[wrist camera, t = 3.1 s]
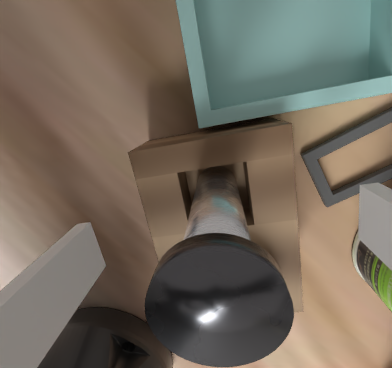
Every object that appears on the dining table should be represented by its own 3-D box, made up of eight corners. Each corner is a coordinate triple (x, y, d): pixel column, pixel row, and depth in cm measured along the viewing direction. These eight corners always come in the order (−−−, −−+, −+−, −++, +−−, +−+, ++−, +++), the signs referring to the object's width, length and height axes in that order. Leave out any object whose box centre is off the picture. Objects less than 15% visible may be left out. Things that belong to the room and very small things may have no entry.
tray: (201, 124, 19) (198, 128, 16) (171, -45, 16) (162, -77, 13) (377, 91, 17) (409, 89, 14) (386, -107, 14) (429, -160, 11)
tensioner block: (285, 268, 23) (321, 353, 15) (182, 278, 24) (167, 362, 16) (272, 118, 18) (313, 129, 11) (149, 140, 20) (106, 165, 12)
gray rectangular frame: (324, 204, 20) (327, 207, 20) (300, 154, 19) (303, 155, 19) (439, 152, 18) (446, 154, 18) (420, 92, 17) (427, 92, 17)
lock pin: (194, 213, 19) (163, 369, 8) (183, 161, 18) (127, 261, 7) (248, 206, 19) (297, 363, 7) (241, 151, 17) (288, 243, 6)
